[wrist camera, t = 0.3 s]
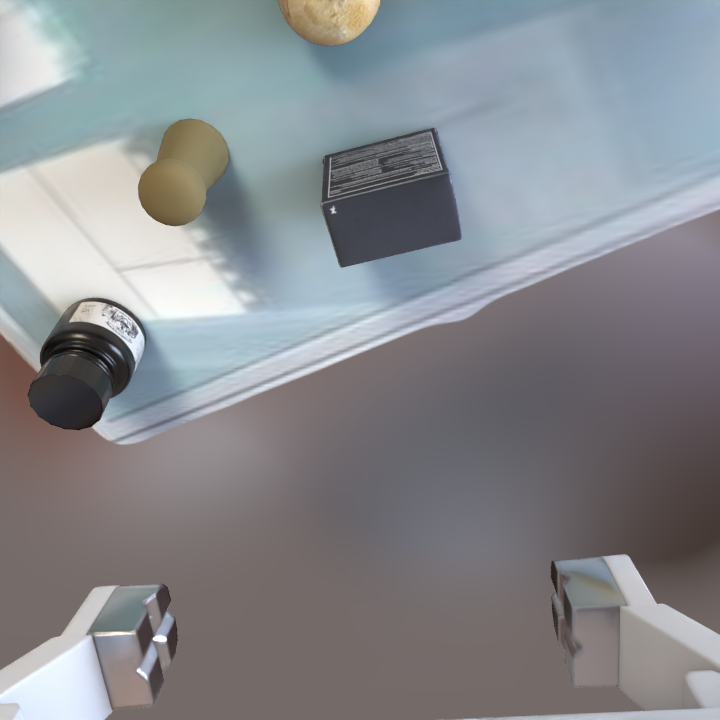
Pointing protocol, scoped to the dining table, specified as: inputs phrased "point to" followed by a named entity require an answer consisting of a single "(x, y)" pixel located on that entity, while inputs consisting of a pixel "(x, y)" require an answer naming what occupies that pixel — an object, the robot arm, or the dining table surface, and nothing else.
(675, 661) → the robot arm
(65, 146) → the dining table surface
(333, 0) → the onion
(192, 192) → the tan pawn
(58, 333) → the ink bottle
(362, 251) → the small box
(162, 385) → the dining table surface
